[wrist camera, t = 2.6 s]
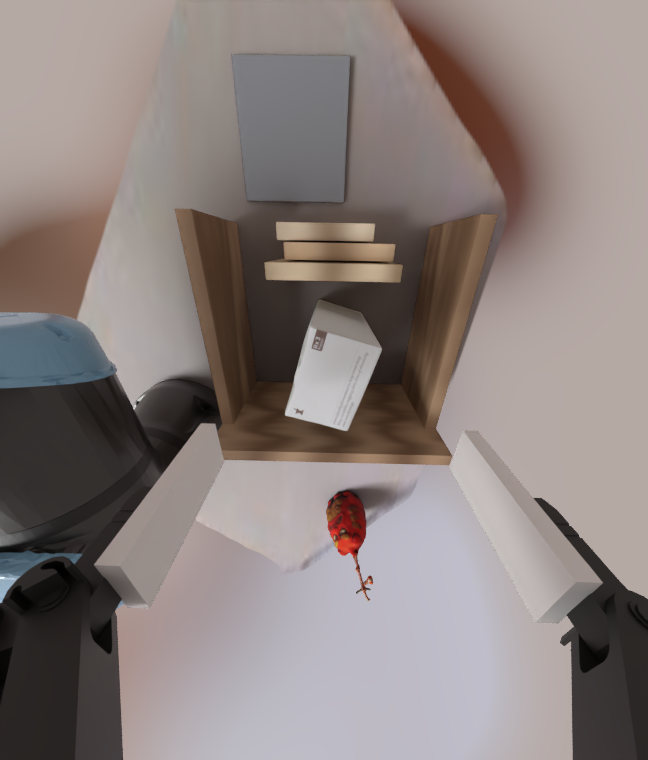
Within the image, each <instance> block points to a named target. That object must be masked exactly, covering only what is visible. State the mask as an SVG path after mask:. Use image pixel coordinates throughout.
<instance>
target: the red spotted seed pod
mask: <svg viewBox="0 0 648 760" xmlns="http://www.w3.org/2000/svg"><path fill="white" fill-rule="evenodd" d="M326 514H327V520H328V530H329V531H330V535H331V537H332V539H333V541H334V543H335V547H336V548H338V552H339V553H340V554H341V555H346V554H348V553H351V554H352V555H353V558H354V560H355V563H356V572H358V574H359V578H360V582H361V589H360V590H359V591H357V592H356V593H358V592H360V591H363V592H364V595H365V597H366V599H367V601H369V600H370V599H369V598H368V597H367V595H366V589H367V590H371V589H369V588H366V587H365V585H367V584H368V583H370V584H373V579H372V577H371V576H369V577H368V579H367V580H366V581H365V582H364V583H363V581H362V577H361V574H360V567H359V565H358V561H357V554H358V550H359V548H360V547H361V545H362V544H363V542H364V539H365V536H366V519H365V511H364V508H363V504H362V502H361V500H360V499H359V498H358V496H356V495H355V494H354V495H353V493H351V492H350V491H345V492H343V493H338V494H336V495H334V498H333V499H331V500H329V502H328V508H327V510H326Z"/></svg>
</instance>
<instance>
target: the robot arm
mask: <svg viewBox="0 0 648 760" xmlns="http://www.w3.org/2000/svg"><path fill="white" fill-rule="evenodd" d="M116 371H117V368H116V366H115V364H113V363H112V362H110V361H109V359H108V358H107V356H106V354H105V353H104V351H103V349H102V347H101V346H100V344H99V342H98V341H97V339H96V337H95V335H94V334H93V332H92V331H91V330H90V329H89V328H88V327H87V326H86V325H84V324H83V323H81V322H79V321H77V320H75V319H73V318H70V317H67V316H63V315H57V314H49V313H0V760H123V748H122V726H121V704H120V681H119V659H118V637H117V616H116V613H115V610H116V609H117V608H119V607H121V606H122V605H123V604H125V605H126V606H127V607H129V608H150V607H151V605H152V603H153V601H154V599H155V597H156V595H157V593H158V591H159V589H160V587H161V585H162V583H163V581H164V579H165V577H166V575H167V573H168V571H169V569H170V568H171V566H172V563H173V562H174V559H175V558H176V556H177V554H178V552H179V550H180V548H181V546H182V544H183V542H184V540H185V538H186V536H187V534H188V532H189V530H190V528H191V526H192V524H193V522H194V520H195V518H196V516H197V514H198V512H199V510H200V508H201V506H202V504H203V502H204V500H205V498H206V496H207V494H208V493H209V491H210V489H211V487H212V485H213V483H214V481H215V479H216V477H217V475H218V473H219V471H220V469H221V467H222V465H223V463H224V458H223V454H222V450H221V446H220V442H219V438H218V433H217V432H218V430H219V429H220V427H221V425H222V420H221V415H220V411H219V406H218V402H217V397H216V393H215V392H214V391H212V390H211V389H209V388H207V387H205V386H203V385H200V384H197V383H194V382H190V381H184V380H169V381H164V382H161V383H158V384H156V385H154V386H153V387H151V388H150V389H149V390H147V391H146V392H145V393H143V394H142V395H141V396H140V397H139V398H138V399H137V401H136V402H135V404H134V405H133V407H132V405H131V403H130V401H129V399H128V397H127V395H126V393H125V391H124V389H123V387H122V385H121V383H120V381H119V379H118V377H117V375H116V373H115V372H116ZM450 469H451V471H452V473H453V475H454V477H455V479H456V480H457V482H458V484H459V486H460V487H461V489H462V491H463V493H464V495H465V497H466V499H467V500H468V502H469V504H470V505H471V508H472V509H473V511H474V513H475V515H476V517H477V518H478V520H479V522H480V523H481V525H482V527H483V529H484V531H485V533H486V534H487V536H488V538H489V540H490V542H491V544H492V545H493V547H494V549H495V551H496V553H497V554H498V556H499V558H500V560H501V561H502V563H503V565H504V567H505V569H506V571H507V573H508V574H509V576H510V578H511V580H512V582H513V583H514V585H515V587H516V589H517V591H518V592H519V594H520V596H521V598H522V600H523V602H524V603H525V605H526V607H527V609H528V611H529V612H530V614H531V616H532V618H533V619H534V621H535V622H536V623H559V622H560V621H561V620H563V618H565V617H566V616H568V618H569V619H570V621H571V622H572V623H573V625H574V627H573V628H572V629H571V630H570V631H569V632H567V633H566V634H565V635H564V636H562V638H561V641H560V643H561V644H562V645H564V646H565V645H566V644H568V643H569V642H570V641H571V657H572V659H571V660H572V661H571V662H572V728H573V729H572V731H573V760H648V599H647V598H645V597H644V596H641V595H639V594H637V593H635V592H632V591H629V590H628V589H626V587H625V586H624V585H623V584H622V583H621V582H620V581H619V580H618V579H617V578H616V577H615V575H614V574H613V573H612V572H611V571H610V570H609V569H608V568H607V566H606V565H605V564H604V563H603V562H602V561H601V560H600V558H599V557H598V556H597V555H596V554H595V553H594V552H593V550H592V549H591V548H590V547H589V546H588V545H587V544H586V543H585V542H584V540H583V539H582V538H580V537H579V535H578V533H577V532H576V531H575V530H574V529H573V528H572V527H571V526H569V523H568V522H567V521H566V520H565V519H564V518H563V516H562V515H561V514H560V513H559V512H558V511H557V510H556V509H555V508H554V507H552V506H551V505H549V504H548V503H547V502H546V501H545V500H543V499H542V498H533V497H532V496H531V495H530V494H529V492H528V491H527V490H526V489H525V488H524V486H523V485H522V484H521V483H520V481H519V480H518V479H517V478H516V477H515V476H514V474H513V473H512V472H511V471H510V469H509V468H508V467H507V466H506V465H505V463H504V462H503V461H502V460H501V458H500V457H499V456H498V455H497V454H496V452H495V451H494V450H493V449H492V448H491V447H490V445H489V444H488V443H487V442H486V440H485V439H484V438H483V437H482V435H481V434H480V433H479V432H478V431H463V432H462V435H461V438H460V441H459V443H458V446H457V449H456V452H455V455H454V457H453V460H452V463H451V466H450Z"/></svg>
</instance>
